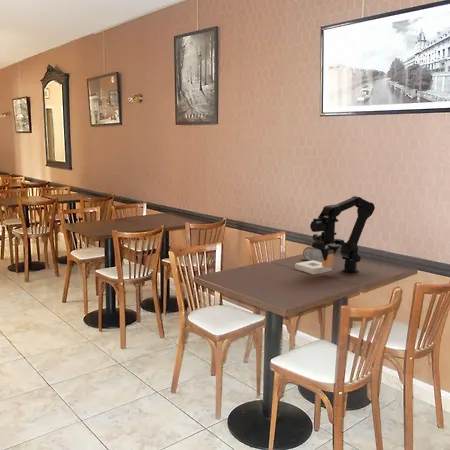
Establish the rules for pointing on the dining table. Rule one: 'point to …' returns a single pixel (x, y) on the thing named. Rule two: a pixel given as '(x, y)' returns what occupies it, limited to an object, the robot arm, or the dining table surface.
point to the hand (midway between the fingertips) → (327, 260)
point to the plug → (328, 259)
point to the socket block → (312, 267)
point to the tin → (312, 254)
